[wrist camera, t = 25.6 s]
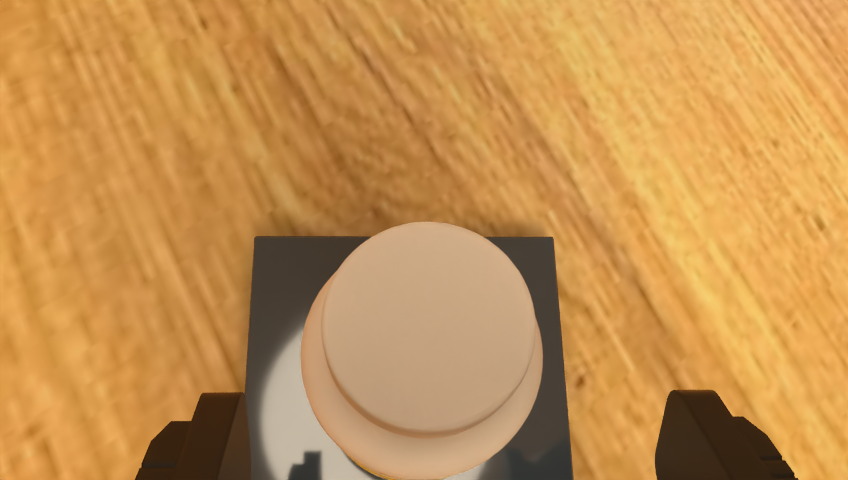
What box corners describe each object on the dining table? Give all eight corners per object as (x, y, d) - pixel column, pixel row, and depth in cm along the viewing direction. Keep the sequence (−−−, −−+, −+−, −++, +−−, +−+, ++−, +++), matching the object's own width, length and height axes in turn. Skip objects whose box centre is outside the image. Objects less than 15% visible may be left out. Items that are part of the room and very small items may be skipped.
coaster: (549, 241, 25) (553, 236, 24) (575, 557, 22) (581, 558, 21) (256, 241, 24) (254, 235, 24) (237, 565, 21) (233, 567, 20)
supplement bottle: (413, 273, 24) (436, 133, 14) (533, 395, 23) (640, 328, 13) (286, 389, 22) (220, 314, 13) (407, 525, 21) (430, 549, 12)
